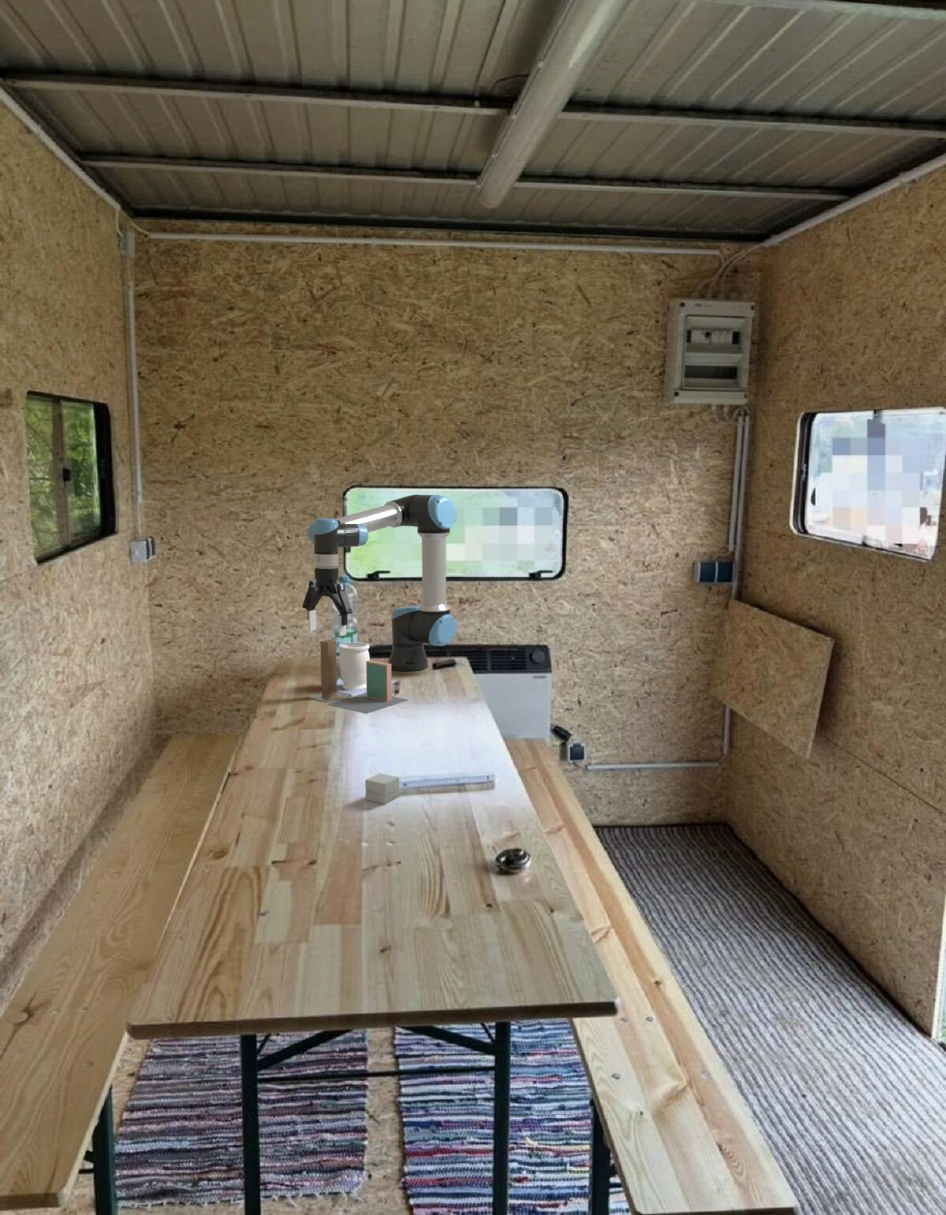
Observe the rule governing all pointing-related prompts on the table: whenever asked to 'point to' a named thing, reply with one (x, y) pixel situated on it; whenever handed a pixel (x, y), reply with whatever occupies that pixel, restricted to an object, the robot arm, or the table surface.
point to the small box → (382, 788)
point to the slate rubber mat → (365, 703)
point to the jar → (353, 664)
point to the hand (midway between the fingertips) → (327, 633)
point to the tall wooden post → (328, 673)
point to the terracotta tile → (378, 680)
